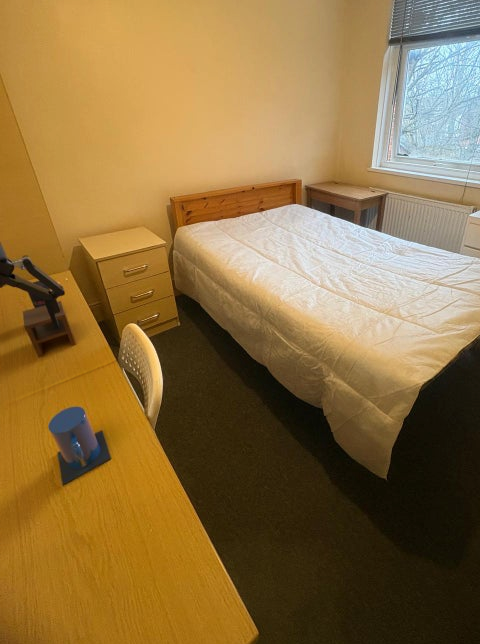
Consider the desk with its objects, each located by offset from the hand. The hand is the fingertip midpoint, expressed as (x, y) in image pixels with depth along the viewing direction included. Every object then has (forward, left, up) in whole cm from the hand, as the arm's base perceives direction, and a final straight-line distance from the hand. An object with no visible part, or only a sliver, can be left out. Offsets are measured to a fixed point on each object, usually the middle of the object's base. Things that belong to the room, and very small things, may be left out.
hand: (16, 338), depth 65 cm
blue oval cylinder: (+10, -7, -28) cm, 30 cm away
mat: (+10, -6, -28) cm, 30 cm away
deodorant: (-34, +43, -28) cm, 62 cm away
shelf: (-24, +31, -28) cm, 48 cm away
